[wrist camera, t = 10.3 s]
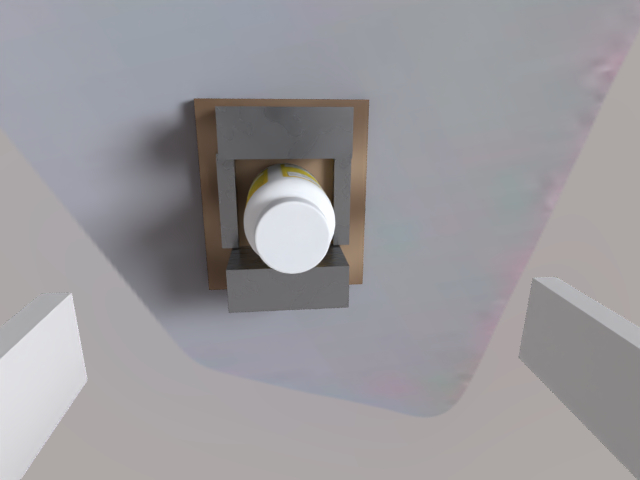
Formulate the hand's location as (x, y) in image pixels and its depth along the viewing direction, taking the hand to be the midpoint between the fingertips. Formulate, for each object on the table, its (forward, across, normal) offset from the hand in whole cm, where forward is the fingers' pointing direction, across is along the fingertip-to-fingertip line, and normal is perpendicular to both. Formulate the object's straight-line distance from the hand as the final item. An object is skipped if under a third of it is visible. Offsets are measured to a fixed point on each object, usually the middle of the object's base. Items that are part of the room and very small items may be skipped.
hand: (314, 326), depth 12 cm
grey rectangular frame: (+21, 0, 0) cm, 21 cm away
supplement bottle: (+20, 0, 0) cm, 20 cm away
